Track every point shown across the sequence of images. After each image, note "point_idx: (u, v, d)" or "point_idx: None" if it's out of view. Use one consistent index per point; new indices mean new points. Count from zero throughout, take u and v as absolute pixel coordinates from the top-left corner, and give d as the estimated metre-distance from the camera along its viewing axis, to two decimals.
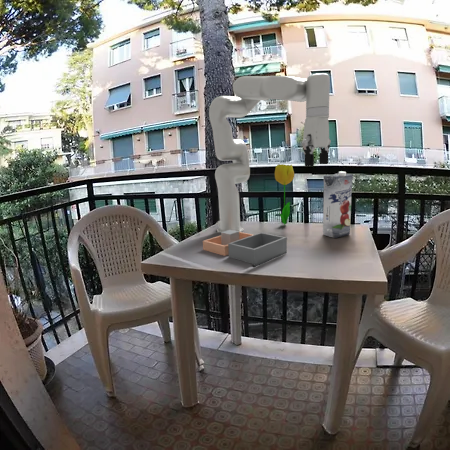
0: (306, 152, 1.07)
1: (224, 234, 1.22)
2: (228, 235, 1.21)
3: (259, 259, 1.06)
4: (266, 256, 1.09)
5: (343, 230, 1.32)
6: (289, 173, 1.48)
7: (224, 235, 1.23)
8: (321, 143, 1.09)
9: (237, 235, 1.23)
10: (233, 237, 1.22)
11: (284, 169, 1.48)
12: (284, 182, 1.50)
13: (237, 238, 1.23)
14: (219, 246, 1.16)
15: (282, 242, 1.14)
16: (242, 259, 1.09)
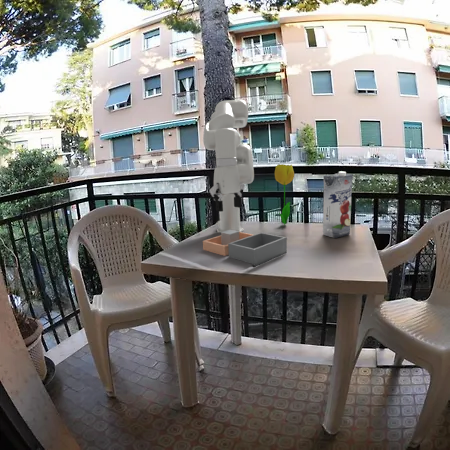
0: (215, 199, 1.16)
1: (224, 234, 1.22)
2: (228, 235, 1.21)
3: (259, 259, 1.06)
4: (266, 256, 1.09)
5: (343, 230, 1.32)
6: (289, 173, 1.48)
7: (224, 235, 1.23)
8: (230, 190, 1.17)
9: (237, 235, 1.23)
10: (233, 237, 1.22)
11: (284, 169, 1.48)
12: (284, 182, 1.50)
13: (237, 238, 1.23)
14: (219, 246, 1.16)
15: (282, 242, 1.14)
16: (242, 259, 1.09)
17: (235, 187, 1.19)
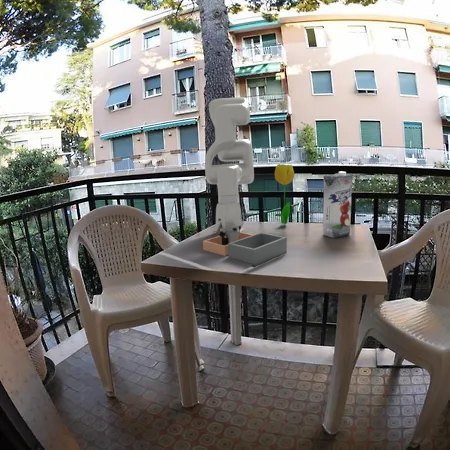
0: (221, 236, 1.21)
1: None
2: (228, 235, 1.21)
3: (259, 259, 1.06)
4: (266, 256, 1.09)
5: (343, 230, 1.32)
6: (289, 173, 1.48)
7: None
8: (232, 225, 1.21)
9: (237, 235, 1.23)
10: (233, 237, 1.22)
11: (284, 169, 1.48)
12: (284, 182, 1.50)
13: (237, 238, 1.23)
14: (219, 246, 1.16)
15: (282, 242, 1.14)
16: (242, 259, 1.09)
17: (237, 222, 1.22)
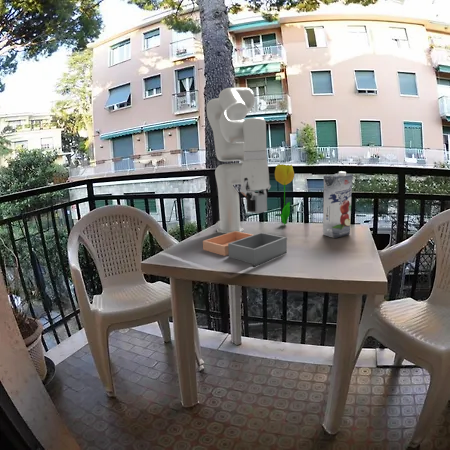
0: (247, 198, 1.07)
1: None
2: (255, 197, 1.07)
3: (259, 259, 1.06)
4: (266, 256, 1.09)
5: (343, 230, 1.32)
6: (289, 173, 1.48)
7: None
8: (259, 186, 1.07)
9: (264, 198, 1.10)
10: (261, 200, 1.08)
11: (284, 169, 1.48)
12: (284, 182, 1.50)
13: (264, 201, 1.10)
14: (219, 246, 1.16)
15: (282, 242, 1.14)
16: (242, 259, 1.09)
17: (264, 183, 1.09)
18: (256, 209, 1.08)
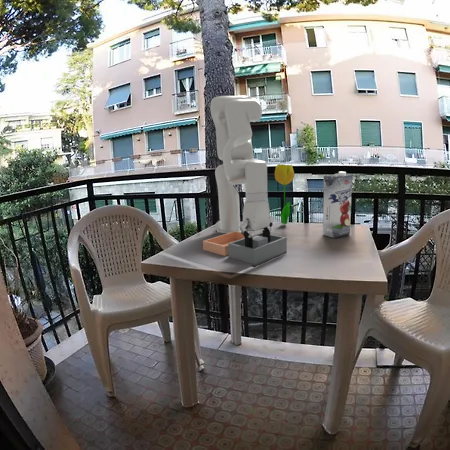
0: (245, 235, 1.09)
1: None
2: (256, 242, 1.11)
3: (259, 259, 1.06)
4: (266, 256, 1.09)
5: (343, 230, 1.32)
6: (289, 173, 1.48)
7: None
8: (260, 225, 1.11)
9: (265, 242, 1.13)
10: (262, 244, 1.12)
11: (284, 169, 1.48)
12: (284, 182, 1.50)
13: None
14: (219, 246, 1.16)
15: (282, 242, 1.14)
16: (242, 259, 1.09)
17: (265, 222, 1.12)
18: None
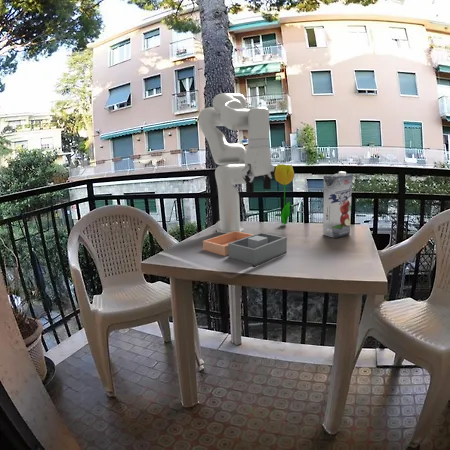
0: (246, 180, 1.15)
1: (251, 241, 1.13)
2: (256, 242, 1.11)
3: (259, 259, 1.06)
4: (266, 256, 1.09)
5: (343, 230, 1.32)
6: (289, 173, 1.48)
7: (251, 242, 1.13)
8: (261, 172, 1.16)
9: (265, 242, 1.13)
10: (262, 244, 1.12)
11: (284, 169, 1.48)
12: (284, 182, 1.50)
13: None
14: (219, 246, 1.16)
15: (282, 242, 1.14)
16: (242, 259, 1.09)
17: (266, 169, 1.17)
18: None
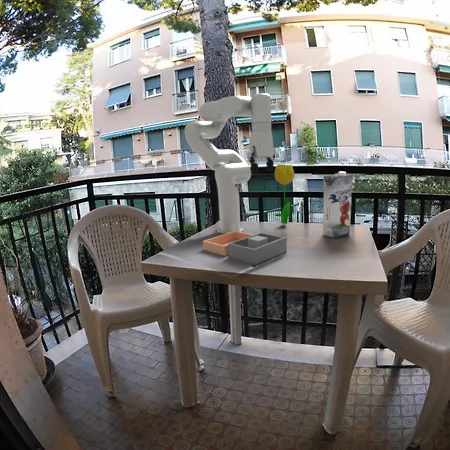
0: (251, 161, 1.23)
1: (251, 241, 1.13)
2: (256, 242, 1.11)
3: (259, 259, 1.06)
4: (266, 256, 1.09)
5: (343, 230, 1.32)
6: (289, 173, 1.48)
7: (251, 242, 1.13)
8: (265, 154, 1.24)
9: (265, 242, 1.13)
10: (262, 244, 1.12)
11: (284, 169, 1.48)
12: (284, 182, 1.50)
13: None
14: (219, 246, 1.16)
15: (282, 242, 1.14)
16: (242, 259, 1.09)
17: (269, 151, 1.26)
18: None
